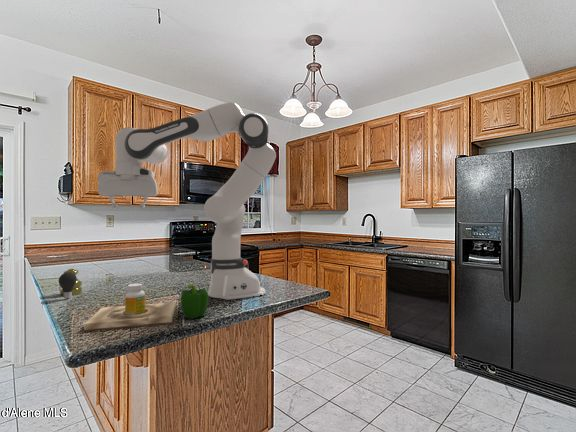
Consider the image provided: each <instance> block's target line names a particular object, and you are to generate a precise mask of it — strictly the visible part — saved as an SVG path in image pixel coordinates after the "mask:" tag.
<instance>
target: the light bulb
mask: <svg viewBox="0 0 576 432" xmlns="http://www.w3.org/2000/svg"><path fill="white" fill-rule="evenodd" d="M77 279H78V277H77V274H76V275H75V274H73V273H71V272H67V273H64V272H63V274H61V275H60V276H59V278H58V284H59V287H60V286H61V287H62V288H61V287H60V288H61V289H63V292H64V296H63V298H64V299H65V300H70V299H71V298H72V296H73V295H72V290H73V287H74V285H75V284H76V281H77Z"/></svg>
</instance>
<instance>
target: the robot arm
mask: <svg viewBox="0 0 576 432" xmlns="http://www.w3.org/2000/svg"><path fill="white" fill-rule="evenodd" d="M269 130H270V129H269V124H268V122H267V120H266V118H265V117H264V116H263V115H261V114H259V113H256V112H252V113H247V114H244V112H243V111H242V109H241V107H240V106H239V105H238V104H237V103H235V102H232V101H229V102H226V103H222V104H218V105H217V104H216V105H215V106H212V107H209V108H207V109H204V110H202V111H200V112H198V113H194V114H192V115H188V116H186V117H183V118H179V119H176V120H173V121H169V122H167V123H164V124H161V125H158V126H155V127H152V128H147V129H146V128H139V129H138V128H136V127H123V128H120V129H119V130H118V131H117V134H116V137H115V154H116V159H115V163H114V164H115V166H114V167H115V170H102V171H99V172H98V174H97V182H98V183H97V194H99V196H103V197H108V200H109V201H110V203H111V208H112V209H118V208H119V207H118V206H119V205H118V203H116V202H115V201H114V200H115V197H116V196H117V197H142V199H143V201H142V203H139V208H140V209H145V207H146V205H145V204H146V203H147V201H148V200H149V197H157V196H158V194H159V193H158V192H159V191H158V190H159V188H158V183H157V181H156V179H155V172H153V171H152V170H151V169H148V168H145V167H142V163H143V162H146V163H149V164H160V163H163V162H164V161H165V160H166V158H167V157H168V151H169V150H168V147H167V145H166V144H170V143H172V142H175V141H178V140H182V139H191V140H196V141H199V142H200V141H201V142H204V143H205V142H210V141H214V140H217V139H220V138H222V137H225V136H226V135H229V134H232V133H237V135H239V137H240V138H241V139H242V140H243V142H245V143H246V144H247V145H248V151H247V152H246V155H245V156H244V157H243V159H242V161H241V162H240V163H239V165H238V166H237V167H236V169H235V170H234V172H233V174H232V175H231V177H230V178H229V179H228V180H227V181H226V182H225V183H224V184H223V185H222V186H221V187H220V188H219V189H218V190H217V192H215V193H214V195H212V196H210V197H209V198H207V200H206V201H205V203H204V207H203V211H204V214H205V216H206V218H207V219H209V221H211V222H214V223H216V224H215V230H214V234H213V235H212V238H211V239H212V240H211V259H210V273H211V277H210V278H211V279H210V284H209V289H208V291H207V293H208V295H209V298H210V297H211V298H215V299H223V300H226V301H228V300H236V299H245V298H253V296H254V297H259V296H260V295H262V296H265V295H266V293H267V292H266V289H265V288H264V287H262V286H261V283H260V280H259V277H258V276H257V275H256V274H255V273H253V272H252V271H251V270H249V268H247V267H246V266H247V265H248V264H249V261H248V260H247V259H244V258H242V257H241V236H242V230H243V225H244V216H245V214H246V206H245V203H246V202H247V201H248V200H249V199H250V198H251V197H252V196H254V195H255V193H256V191H258V189H259V188H260V186H261V184H262V183H263V181H264V180H265V179H266V178H267V176H268V174H269V172H270V171H271V169H272V168H273V165H274V163H275V162H276V161H275V160H276V159H277V153H276V151H275V149H274V148H273V147H272V145H270V144H269V143H268V140H269V139H268V138H269ZM264 294H265V295H264ZM260 297H261V296H260Z"/></svg>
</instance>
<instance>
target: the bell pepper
mask: <svg viewBox="0 0 576 432" xmlns="http://www.w3.org/2000/svg"><path fill="white" fill-rule="evenodd" d="M187 288H188V290H187V289H184V290H183V291H182V293H181V296H180V307H181V309H182V313H183V315H184V317H185V318H186V319H190V320H192V319H193V320H194V319H197V318H199V317H204V315H205V314H206V312H207V309H208V306H209V298H210V296H209V295H208V291H207V290H206V289H205V288H201V289H196V286H195V285H194V284H189V285H188V286H187Z"/></svg>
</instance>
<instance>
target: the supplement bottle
mask: <svg viewBox="0 0 576 432" xmlns="http://www.w3.org/2000/svg"><path fill="white" fill-rule="evenodd" d="M143 287H144V286H143V283H130V284H128V285H127V291H128V292H127V291H126V293H125V295H124V303H125V304H124V306H125V315H127V316H129V315H139V314H143V313H145V304H146V292H145V291H144V290H143Z"/></svg>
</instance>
